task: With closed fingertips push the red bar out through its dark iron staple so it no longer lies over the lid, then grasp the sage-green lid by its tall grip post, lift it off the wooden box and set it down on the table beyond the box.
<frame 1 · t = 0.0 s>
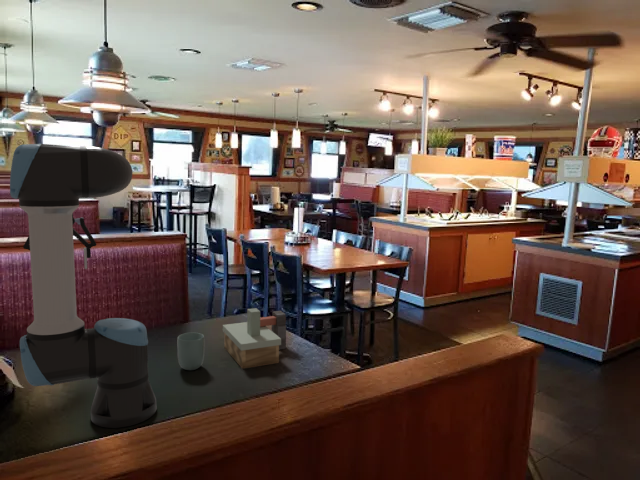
hand: (62, 269, 155), 28 cm above the table, fingers open, 13 cm apart
lid: (250, 341, 161), point 4 cm above the table, touching wooden box
wooden box: (250, 354, 161), on the table
cup: (191, 368, 150), on the table
red bar: (267, 321, 167), point 9 cm above the table, slide at 0.0 cm
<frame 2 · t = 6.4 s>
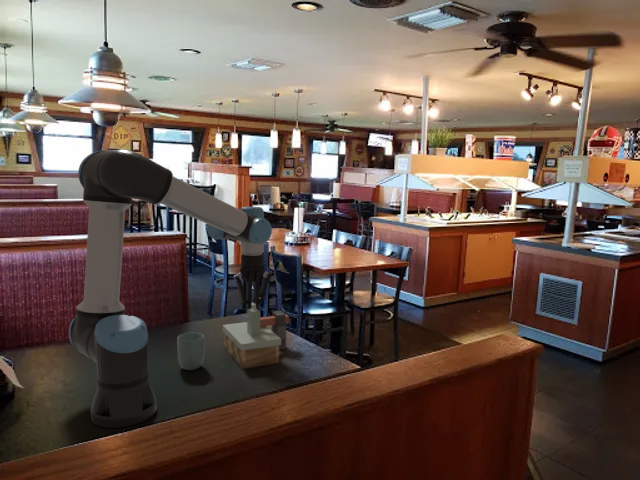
hand: (252, 322, 164), 10 cm above the table, fingers closed
red bar: (271, 320, 167), point 9 cm above the table, slide at 1.3 cm, touching gripper
everything else where it was.
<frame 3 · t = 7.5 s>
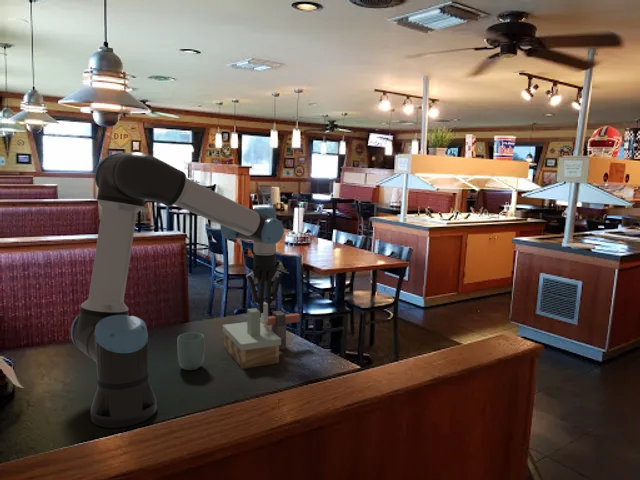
hand: (264, 321, 166), 9 cm above the table, fingers closed
red bar: (282, 319, 169), point 10 cm above the table, slide at 5.5 cm, touching gripper
everything else where it was.
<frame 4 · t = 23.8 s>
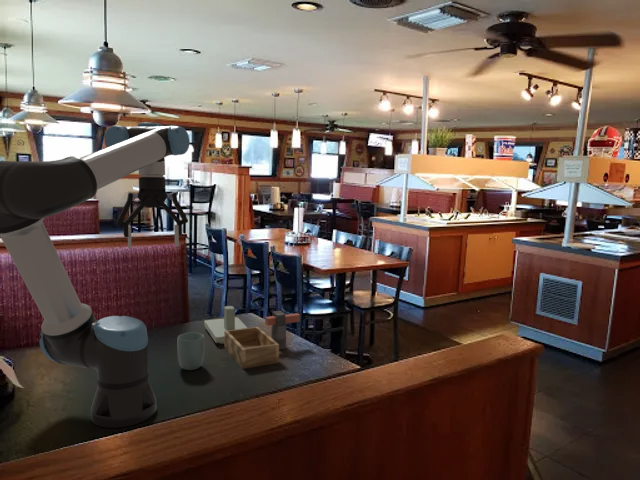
hand: (153, 247, 148), 37 cm above the table, fingers open, 13 cm apart
lid: (227, 335, 181), on the table
red bar: (282, 319, 169), point 9 cm above the table, slide at 5.5 cm
everything else where it was.
at the end: red bar slide at 5.5 cm; lid inside the target area (0.4 cm from its centre), on the table; lid tilted 0° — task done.
